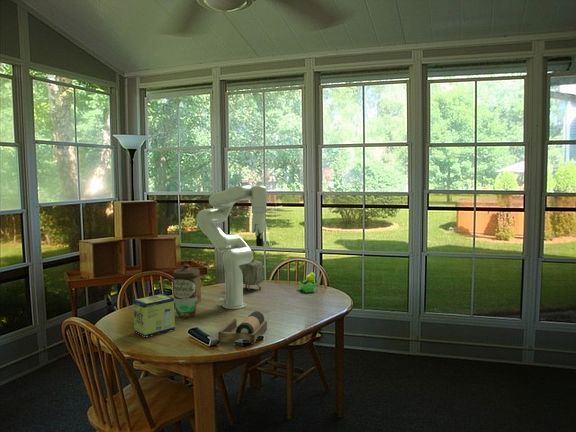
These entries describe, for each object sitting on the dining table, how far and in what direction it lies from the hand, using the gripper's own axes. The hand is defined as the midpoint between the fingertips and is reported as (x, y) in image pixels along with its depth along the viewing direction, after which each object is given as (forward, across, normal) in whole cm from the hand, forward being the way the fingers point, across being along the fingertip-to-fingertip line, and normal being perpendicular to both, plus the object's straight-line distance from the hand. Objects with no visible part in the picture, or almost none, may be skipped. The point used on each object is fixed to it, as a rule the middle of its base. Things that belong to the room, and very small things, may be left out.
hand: (259, 246), depth 244 cm
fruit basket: (+35, -52, +15) cm, 65 cm away
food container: (+35, +14, -35) cm, 52 cm away
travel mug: (+31, +22, +5) cm, 38 cm away
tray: (+35, +34, +2) cm, 49 cm away
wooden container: (+35, -13, -47) cm, 60 cm away
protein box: (+35, +37, -40) cm, 65 cm away
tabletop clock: (+35, -48, -21) cm, 63 cm away
